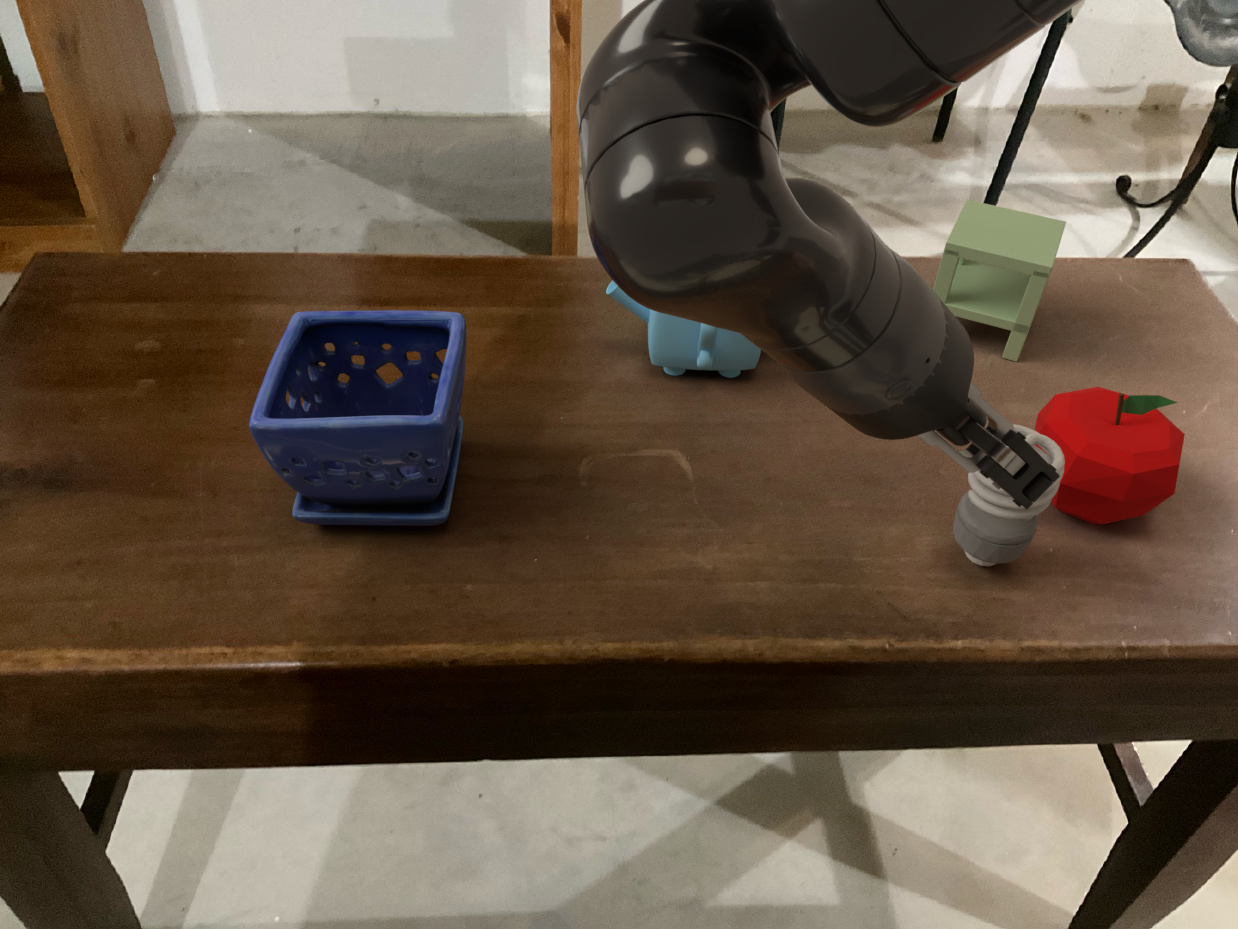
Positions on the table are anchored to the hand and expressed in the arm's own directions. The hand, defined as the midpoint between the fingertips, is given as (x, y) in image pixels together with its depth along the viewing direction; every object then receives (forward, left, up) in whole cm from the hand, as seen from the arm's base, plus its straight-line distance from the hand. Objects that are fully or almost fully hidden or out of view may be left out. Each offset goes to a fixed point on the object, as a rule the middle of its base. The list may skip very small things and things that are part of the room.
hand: (977, 443), depth 59 cm
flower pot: (+40, +9, -14) cm, 43 cm away
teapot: (+25, -19, -14) cm, 35 cm away
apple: (-9, -15, -14) cm, 23 cm away
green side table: (+3, -35, -14) cm, 38 cm away
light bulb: (-3, -4, -14) cm, 15 cm away
